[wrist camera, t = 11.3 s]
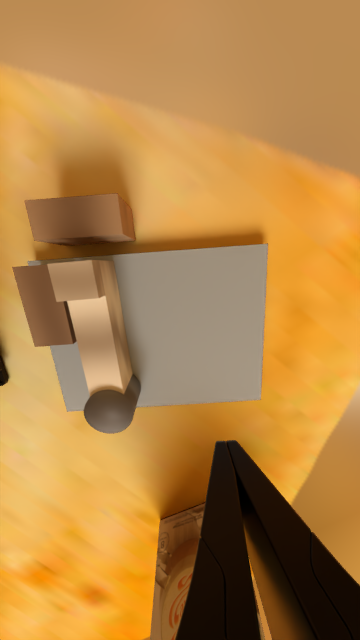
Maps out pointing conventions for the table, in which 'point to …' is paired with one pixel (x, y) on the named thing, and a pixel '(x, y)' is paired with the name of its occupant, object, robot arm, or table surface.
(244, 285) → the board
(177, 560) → the coffee box
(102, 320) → the leg
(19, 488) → the table surface
